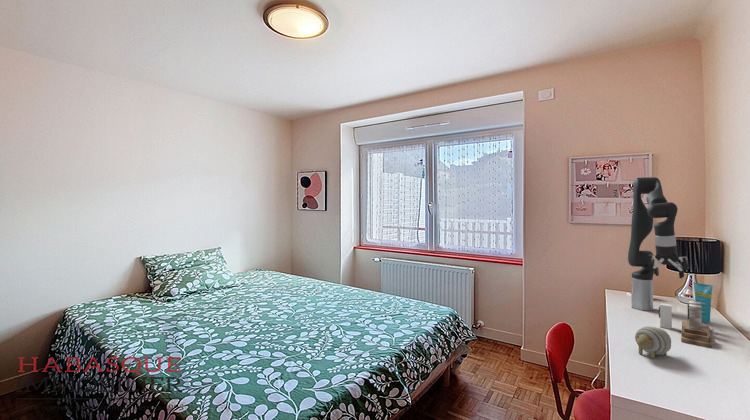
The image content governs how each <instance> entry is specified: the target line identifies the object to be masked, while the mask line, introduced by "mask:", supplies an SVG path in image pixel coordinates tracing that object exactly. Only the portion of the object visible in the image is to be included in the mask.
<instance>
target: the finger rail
mask: <svg viewBox="0 0 750 420" xmlns="http://www.w3.org/2000/svg"><path fill="white" fill-rule="evenodd" d="M687 320H688V321H686V320H681V337H680V339H681V340H680V341H681V342H682V343H685V344H691V345H697V346H701V347H704V346H705V347H706V348H709V347H710V348H711V349H712V339H711V338H712V337H711V334H710V333H711V332H710V328H709V325H708V324H705V323H704V324H703V322H702V318H701V303H700V302H695V301H693V300H691V301H690V300H689V301H688V303H687Z"/></svg>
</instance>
